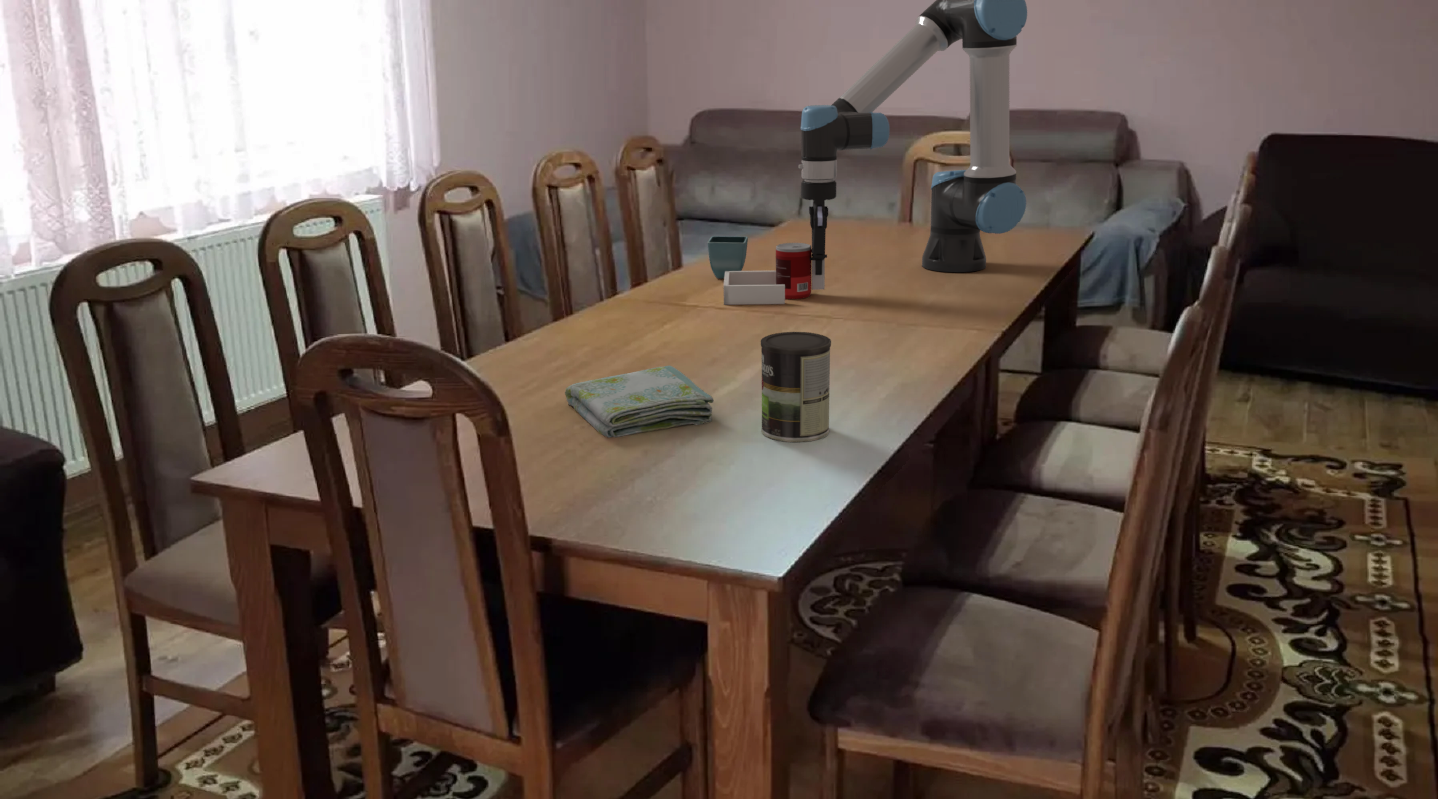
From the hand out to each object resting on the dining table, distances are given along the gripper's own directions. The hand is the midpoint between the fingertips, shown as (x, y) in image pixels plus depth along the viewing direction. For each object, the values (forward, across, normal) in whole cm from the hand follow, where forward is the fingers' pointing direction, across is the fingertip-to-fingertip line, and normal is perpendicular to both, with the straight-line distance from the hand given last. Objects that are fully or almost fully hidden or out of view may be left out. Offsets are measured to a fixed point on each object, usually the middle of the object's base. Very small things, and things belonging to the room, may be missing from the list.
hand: (818, 288), depth 279 cm
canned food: (+2, 0, -5) cm, 6 cm away
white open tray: (+2, 0, -14) cm, 14 cm away
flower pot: (+2, -21, -20) cm, 29 cm away
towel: (+2, +83, -32) cm, 89 cm away
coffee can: (+2, +93, -8) cm, 93 cm away
